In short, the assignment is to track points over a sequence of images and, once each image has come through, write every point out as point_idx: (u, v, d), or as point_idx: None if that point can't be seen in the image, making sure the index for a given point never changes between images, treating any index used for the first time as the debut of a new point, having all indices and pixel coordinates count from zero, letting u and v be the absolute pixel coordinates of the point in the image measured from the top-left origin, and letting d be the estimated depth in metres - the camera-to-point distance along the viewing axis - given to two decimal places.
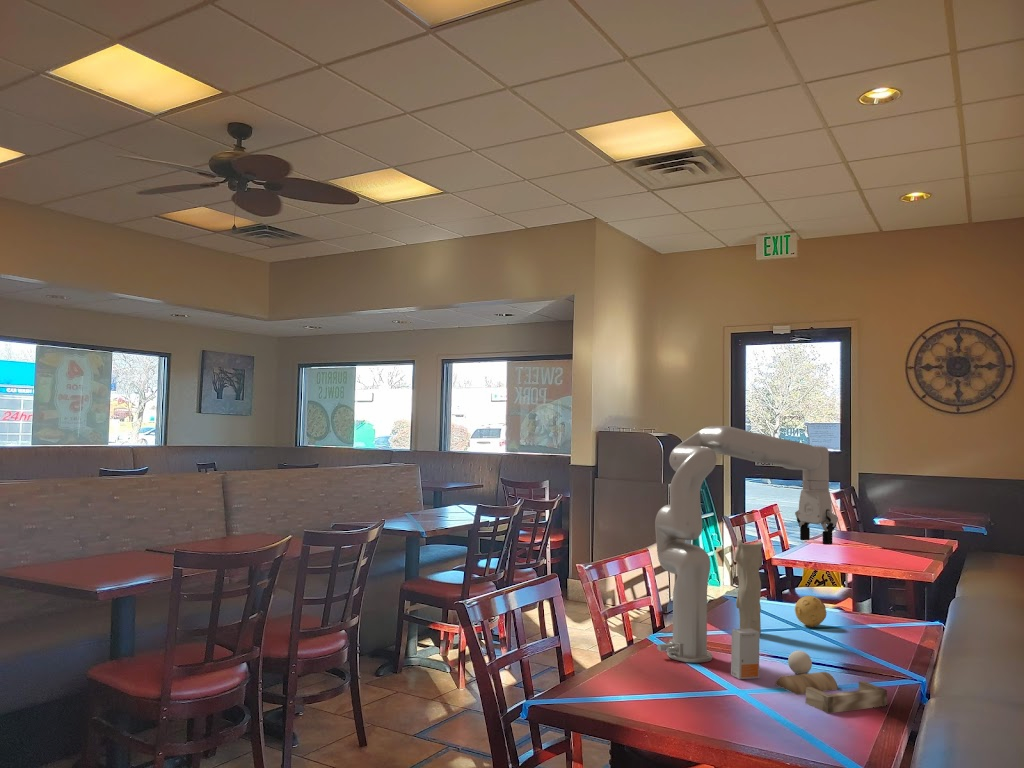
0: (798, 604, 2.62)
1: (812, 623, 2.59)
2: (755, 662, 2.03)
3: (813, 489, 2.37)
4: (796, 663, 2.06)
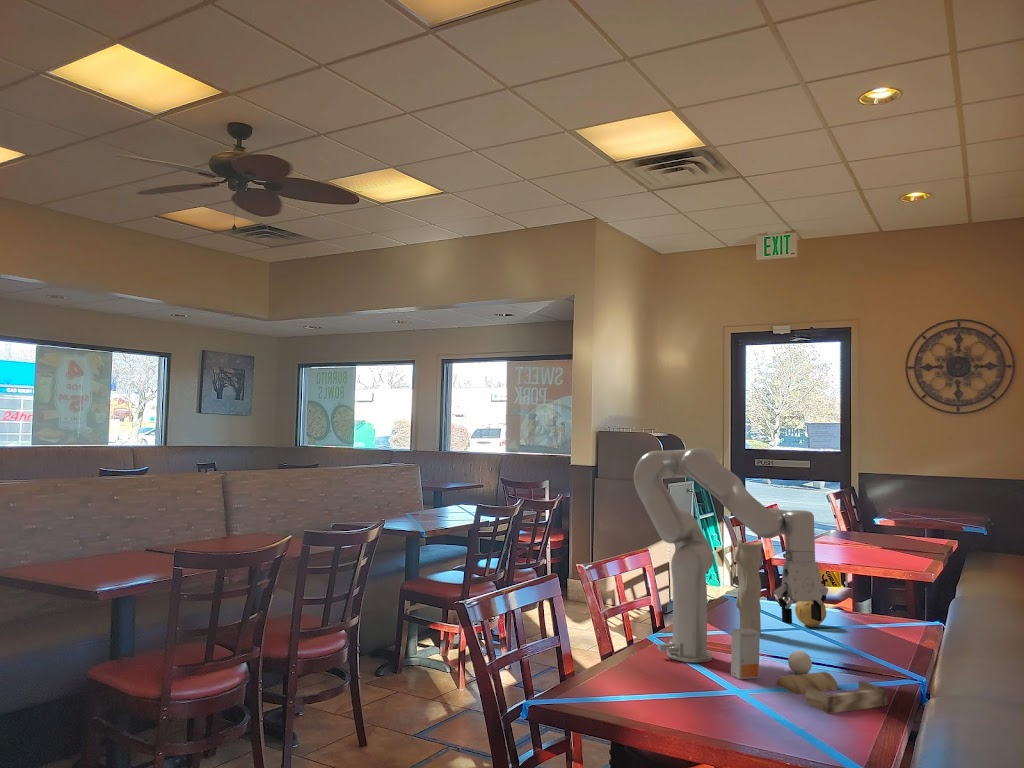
0: (798, 604, 2.62)
1: (812, 623, 2.59)
2: (755, 662, 2.03)
3: (814, 561, 2.08)
4: (796, 663, 2.06)
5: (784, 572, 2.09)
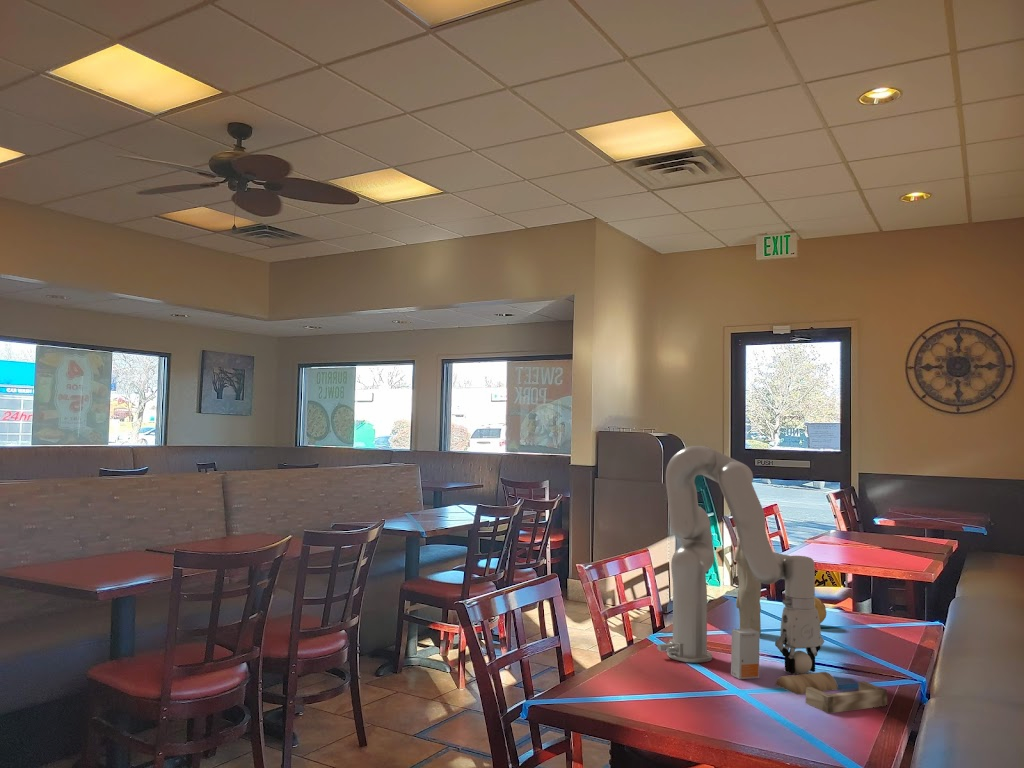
0: None
1: None
2: (755, 662, 2.03)
3: (814, 608, 2.07)
4: (796, 663, 2.06)
5: (783, 618, 2.08)
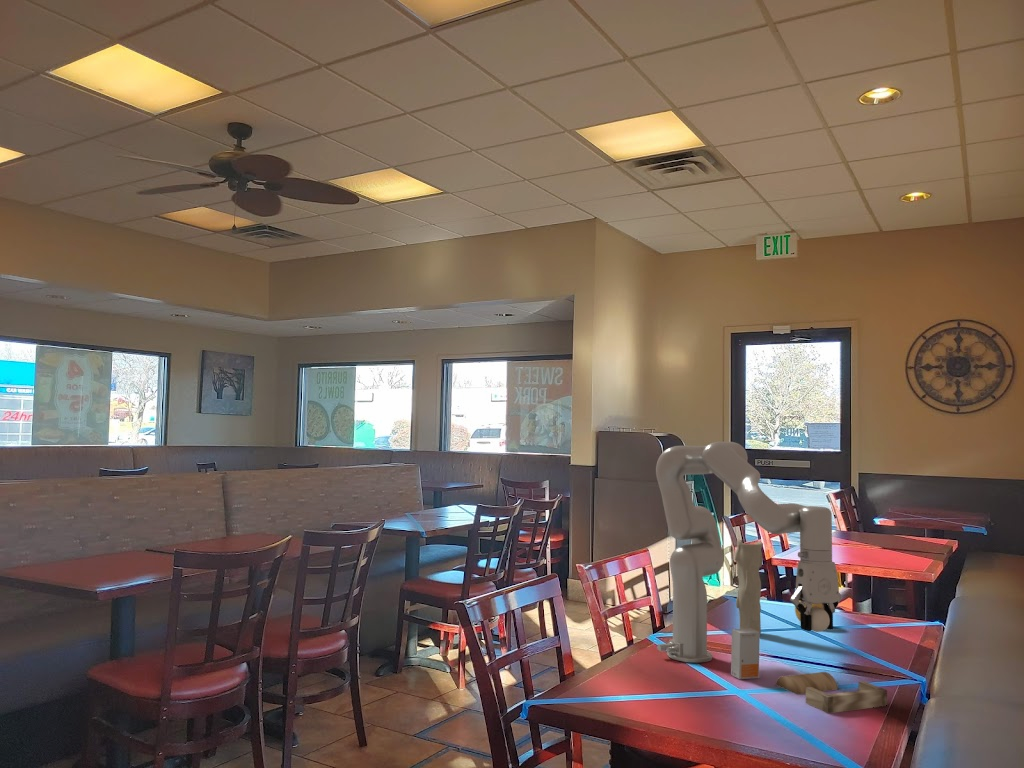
0: None
1: None
2: (755, 662, 2.03)
3: (831, 561, 1.94)
4: (813, 620, 1.92)
5: (799, 572, 1.95)
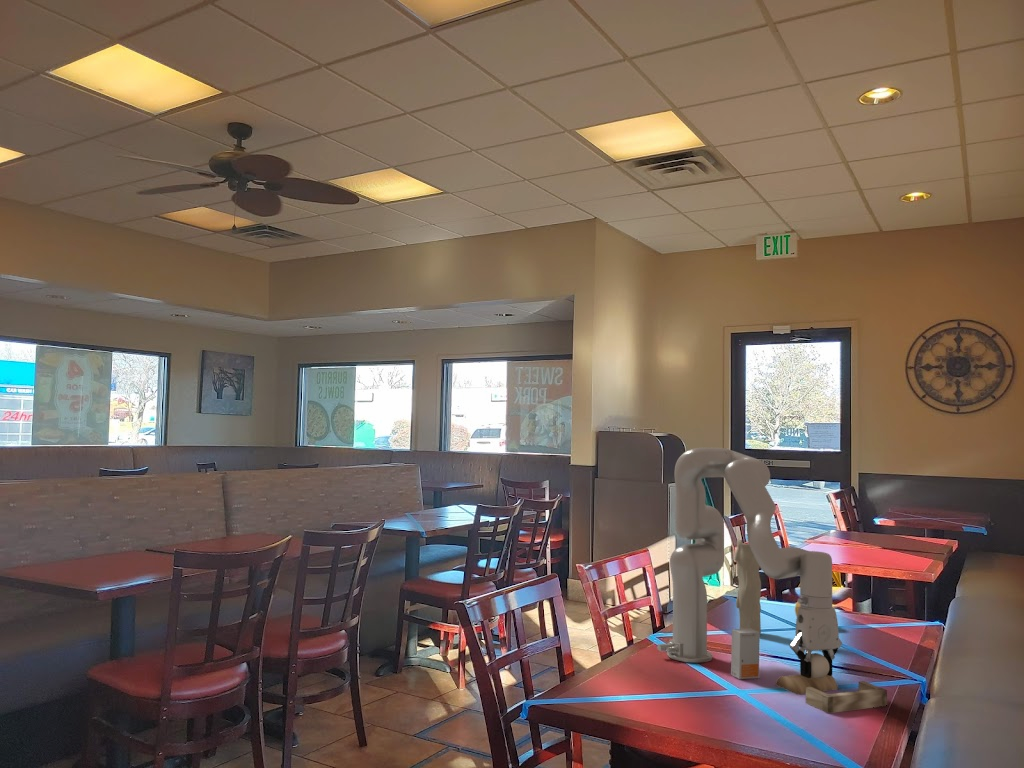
0: (798, 604, 2.62)
1: None
2: (755, 662, 2.03)
3: (831, 607, 1.93)
4: (812, 667, 1.92)
5: (798, 618, 1.94)
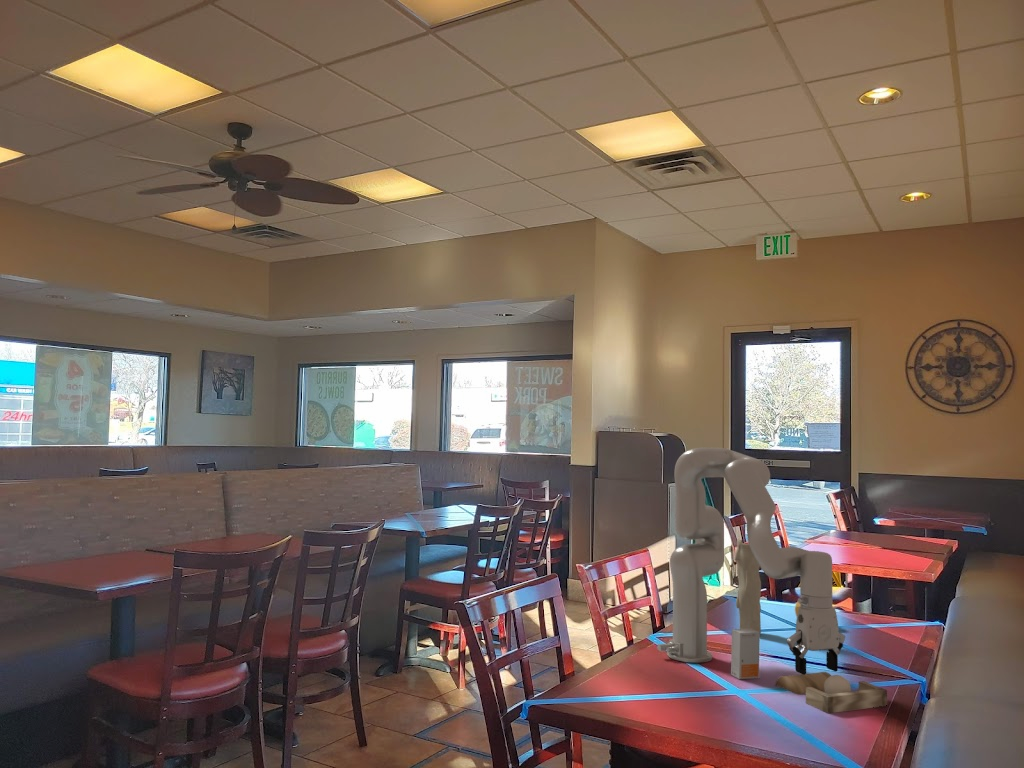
0: (798, 604, 2.62)
1: None
2: (755, 662, 2.03)
3: (831, 607, 1.93)
4: None
5: (799, 618, 1.94)
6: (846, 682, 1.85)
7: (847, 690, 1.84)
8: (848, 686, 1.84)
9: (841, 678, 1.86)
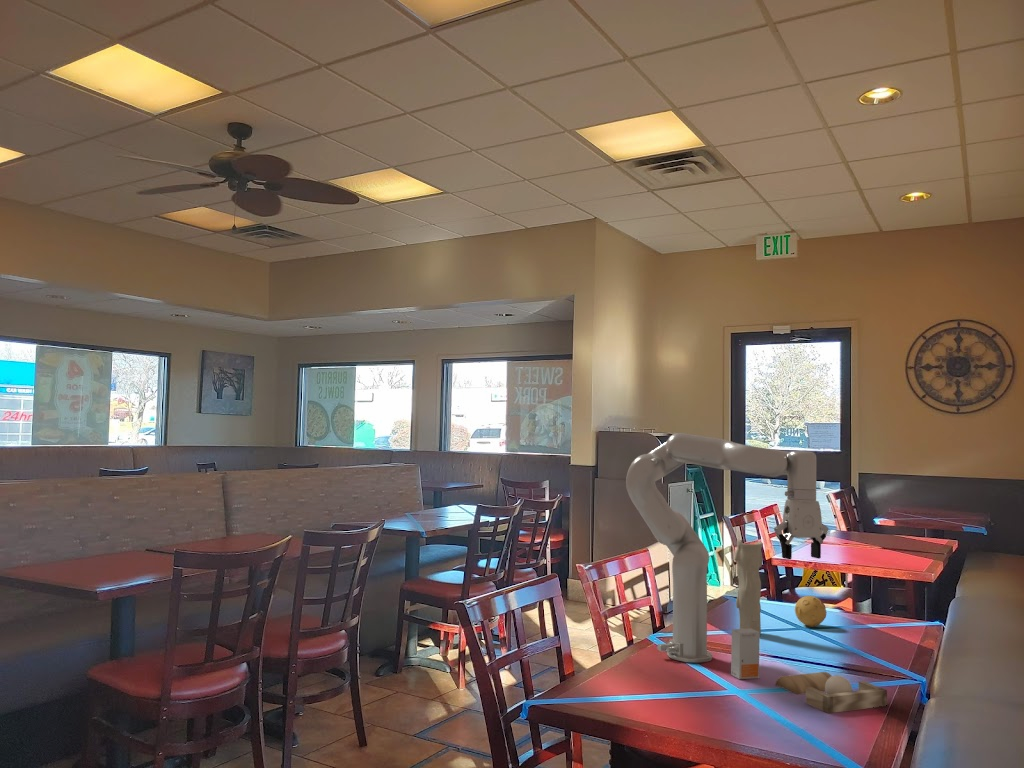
0: (798, 604, 2.62)
1: (812, 623, 2.59)
2: (755, 662, 2.03)
3: (815, 499, 2.13)
4: (825, 689, 1.87)
5: (785, 510, 2.14)
6: (847, 684, 1.84)
7: (848, 691, 1.84)
8: (849, 688, 1.84)
9: (843, 679, 1.85)
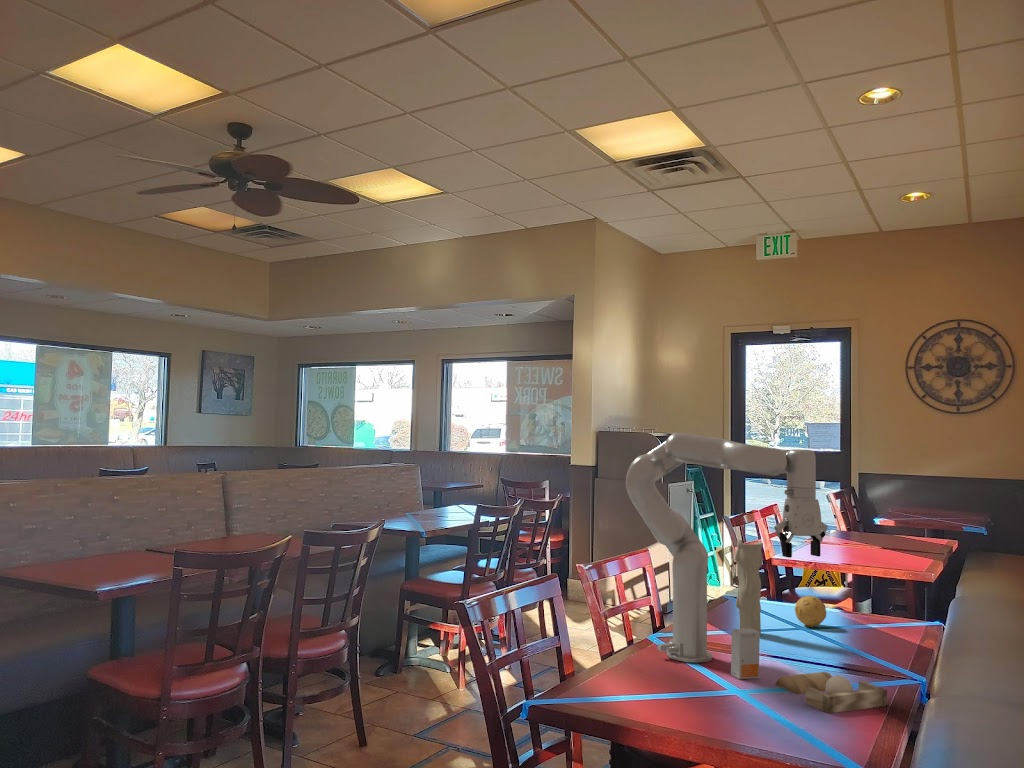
0: (798, 604, 2.62)
1: (812, 623, 2.59)
2: (755, 662, 2.03)
3: (815, 498, 2.14)
4: (826, 689, 1.87)
5: (785, 508, 2.15)
6: (849, 685, 1.84)
7: None
8: (850, 689, 1.84)
9: (844, 680, 1.85)
